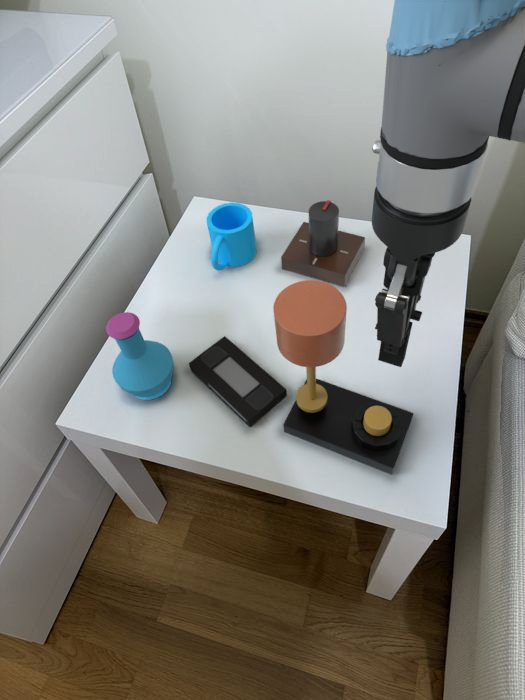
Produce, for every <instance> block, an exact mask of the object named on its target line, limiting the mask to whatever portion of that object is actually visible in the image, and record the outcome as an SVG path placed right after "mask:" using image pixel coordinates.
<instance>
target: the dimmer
mask: <svg viewBox="0 0 525 700" xmlns="http://www.w3.org/2000/svg"><path fill="white" fill-rule="evenodd" d="M339 218H340V209H339V207H338V205H337V204H335V203H333V202H332V201H331V200H329V199H327V200H322V201H317V202H314V203H313V204H311V206H310V207H309V209H308V223H309V249H310V251H311V252H312V253H313V254H315V255H317V256H322V257H324V256H329V255H332V254H333V253H335V252H336V250H337V248H338V230H339V221H340V219H339Z"/></svg>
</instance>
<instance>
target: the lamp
mask: <svg viewBox="0 0 525 700" xmlns="http://www.w3.org/2000/svg"><path fill="white" fill-rule="evenodd" d="M347 310H348V305H347V301H346V298H345V297H344V295H343V294H342V292H341V291H340V290H339V289H338V288H336V287H335V286H334V285H333V284H331V283H329V282H325V281H322V280H317V279H316V280H315V279H308V280H306V279H305V280H300V281H297V282H294V283H291V284H289V285H288V286H286V287H284V288H283V289H282V290H281V291H280V292H279V293H278V294H277V296H276V298H275V299H274V303H273V318H274V328H275V337H276V345H277V348H278V351H279V353H280V354H281V356H283V358H284V359H285V360H286V361H288V362H290V363H292V364H293V365H296V366H298V367H304V368H306V379H307V384H304V383H303V384H302V385H301V386H300V387H299V388H298V389H297V390H296V393H295V401H296V402H297V404H298V406H299V407H300V408H301V409H302V410H303V411H306V412H310V413H314V412H318V411H320V410H322V409H323V408H324V407H325V406H326V404H327V399H328V395H327V392H326V390H325V389H324V388H323V387H322V386H321V385H319V384H316V379H317V368H318V367H322V366H325V365H327V364H329V363H331V362H333V361H334V360H335V359H336V358H338V357H339V356H340V354H341V353H342V351H343V349H344V346H345V342H346V341H345V339H346V325H347Z"/></svg>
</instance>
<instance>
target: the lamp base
mask: <svg viewBox="0 0 525 700" xmlns="http://www.w3.org/2000/svg"><path fill="white" fill-rule="evenodd" d="M304 384H307V378H306V379H305V381H304V383H303V385H304ZM316 384H319V385H321V386H322V387H323V388H324V389H325V390H326V392H327V395H328V399H327V404H326V406H325V407H324V408H323V409H322V410H320V411H318V412H314V413H310V412H306V411H303V410H302V409H301V408H300V407H299V406H298V404H297V402H296V400H295V402H294V403H293V405H292V407H291V408H290V411H289V412H288V414H287V416H286V418H285V421H284V423H283V424H282V426H283V427H282V428H283V432H284V433H286V434H289V435H291V436H294V437H296V438H299V439H301V440H303V441H306V442H308V443H311V444H314V445H316V446H319V447H321V448H324V449H326V450H329V451H331V452H333V453H336V454H339V455H340V456H343V457H347V458H348V459H351V460H354V461H356V462H358V463H361V464H363V465H366V466H369V467H371V468H374V469H376V470H378V471H381V472H384V473H387V474H389V475H391V476H392V475H393V474H394V471H395V469H396V468H395V467H396V465H397V462H398V459H399V456H400V454H401V451H402V448H403V445H404V443H405V440H406V437H407V435H408V432H409V429H410V426H411V424H412V421H413V417H414V414H415V413H414V412H412V411H409V410H406V409H403V408H402V407H401V408H400V407H397V406H395V405H392V404H389V403H386V402H384V401H381V400H378V399H375V398H373V397H369V396H367V395H364V394H361V393H359V392H356V391H353V390H349V389H347V388H344V387H341V386H339V385H336V384H333V383H330V382H328V381H325V380H322V379H319V378H316ZM372 406H382V407H384V408H386V409H387V410H388V411H389V412H390V413H391V416H392V422H391V426H390V429H389V431H388V432H387V433H386V434H385V435H382V436H373V435H371V434H369V433H368V432H367V431H366V430H365V429H364V426H363V420H364V414H365V412H366V410H367V409H368V408H370V407H372Z"/></svg>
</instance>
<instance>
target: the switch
mask: <svg viewBox="0 0 525 700" xmlns="http://www.w3.org/2000/svg"><path fill="white" fill-rule="evenodd" d="M391 422H392V416H391V413H390V412H389V411H388V410H387V409H386V408H384V407H382V406H372V407H370V408H368V409H367V410H366V412H365V414H364V420H363V426H364V429H365V430H366V431H367V432H368V433H369V434H371V435H373V436H382V435H385V434H386V433H387V432H388V431H389V429H390V426H391Z"/></svg>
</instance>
